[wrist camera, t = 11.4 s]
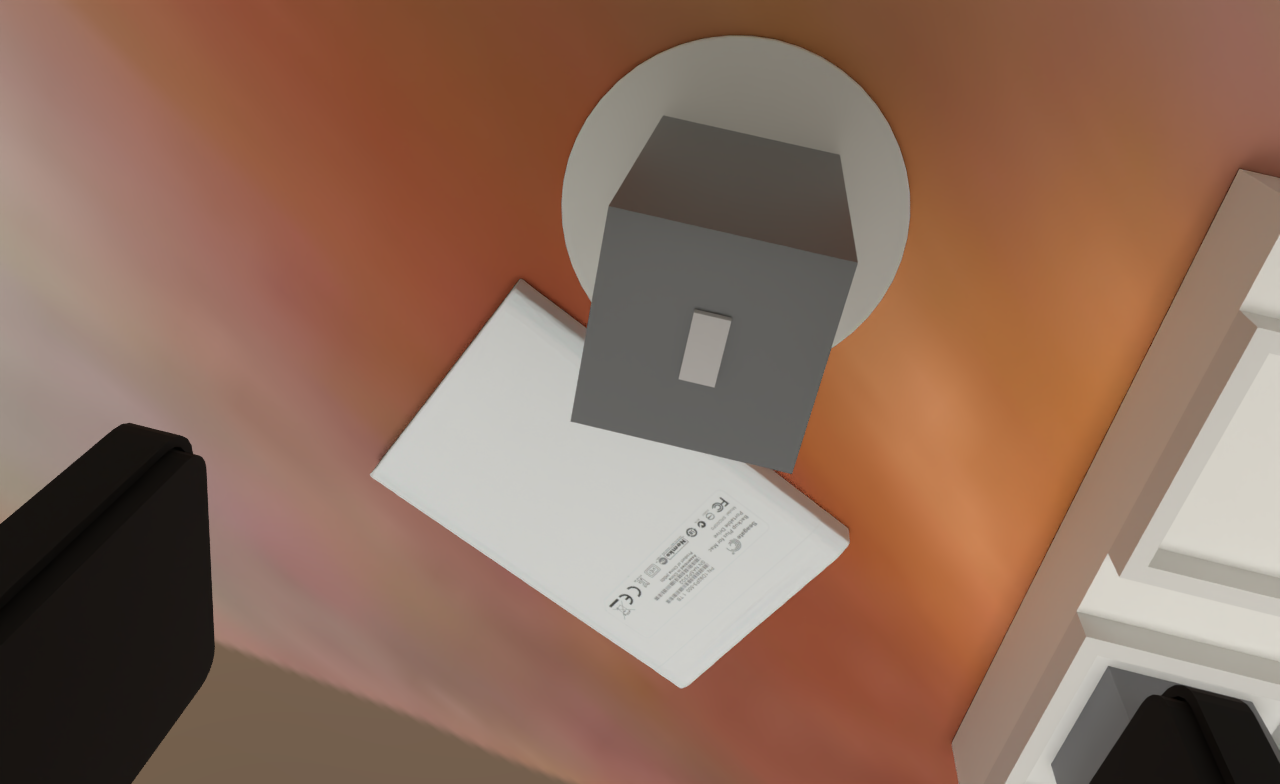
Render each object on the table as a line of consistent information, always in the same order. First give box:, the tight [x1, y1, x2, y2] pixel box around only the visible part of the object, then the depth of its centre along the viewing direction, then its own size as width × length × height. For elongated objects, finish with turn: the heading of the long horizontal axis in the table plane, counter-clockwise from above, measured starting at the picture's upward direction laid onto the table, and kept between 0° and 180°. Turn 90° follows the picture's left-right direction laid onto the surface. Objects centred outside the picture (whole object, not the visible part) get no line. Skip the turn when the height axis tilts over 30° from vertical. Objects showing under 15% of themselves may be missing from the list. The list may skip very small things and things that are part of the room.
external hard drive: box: [370, 279, 850, 688], centre depth 30 cm, size 2×8×12 cm
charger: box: [570, 115, 858, 474], centre depth 22 cm, size 4×4×8 cm
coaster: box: [562, 35, 910, 347], centre depth 25 cm, size 9×9×1 cm
